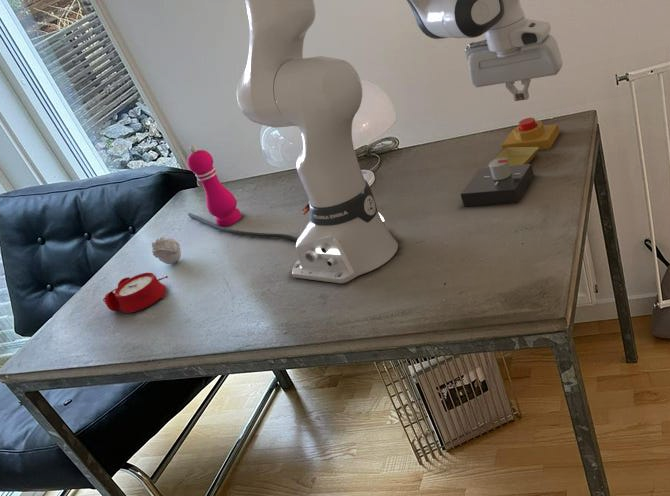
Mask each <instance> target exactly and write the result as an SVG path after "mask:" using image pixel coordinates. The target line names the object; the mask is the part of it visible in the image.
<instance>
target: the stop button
mask: <svg viewBox="0 0 670 496" xmlns="http://www.w3.org/2000/svg"><path fill="white" fill-rule="evenodd" d="M535 120H536V119H535V118H534V117H526V118H523V119H521V120H519V122H518V126H520V130H521V131H528V130H531V129H533V128H535V127H536V123H535Z"/></svg>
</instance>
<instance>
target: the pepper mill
mask: <svg viewBox="0 0 670 496" xmlns="http://www.w3.org/2000/svg"><path fill="white" fill-rule="evenodd" d="M189 151H190V154H189V155H188V156H187V159H186V165H187V167H188V169H189V170H190V171H191V172H193V173H194V175H195V176H194V177H196V180H197V181H198V182H200V183H201V185H202V187H203V189H204V192H205V205H206V208H207V211H208V213H209V214H210V215H211V216H213V217H214V218H215V219H214V220H215V222H216V225H218V226H221V227H224V228H226V227H229V226H231V225H234V224H235V223H237V222H238V221H240V220H241V219H242V215H243V214H242V213H241V211H240V209H239V208H237V205H238V202H237V198H236V197H235V195H234V194H233V193H232V192H231V191H229V189H227V188H226V187H225V186H224V185H223V184H222V182H221V181H220V179H219V178H218V170H216V166H214V158H213V156H212V155H211V153H210V152H208V151H207V150H205V149H199V148H198V147H197V145H195V144H193V145H191V146H190V147H189Z"/></svg>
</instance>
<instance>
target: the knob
mask: <svg viewBox="0 0 670 496" xmlns="http://www.w3.org/2000/svg"><path fill="white" fill-rule="evenodd" d="M494 159H495V158H494ZM494 159H493V160H491V161H490V162H489V164H488V165H489V167H488V168H490V171H491V174H492V178H493V179H494V180H502V179H505V178H507V177H509V176H510V175H511V169H510V165H509V161H508V159H507V158H498V159H495V160H494Z"/></svg>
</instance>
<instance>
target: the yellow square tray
mask: <svg viewBox="0 0 670 496" xmlns="http://www.w3.org/2000/svg"><path fill="white" fill-rule="evenodd" d="M538 149H539V147H512V148H506V149H504V150H503V149H502V151H501V152H500V153H499V154H498V155H497V156H496V157H495V158H494V159H493V160H495V159H498V158H507V159H508V161H509V165H510V166H513V165H523V164H530V163H531V162H532V160H534V158H536V156H537V153H538V151H539V150H538ZM487 168H490V167H489V164H488V165H487Z"/></svg>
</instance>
